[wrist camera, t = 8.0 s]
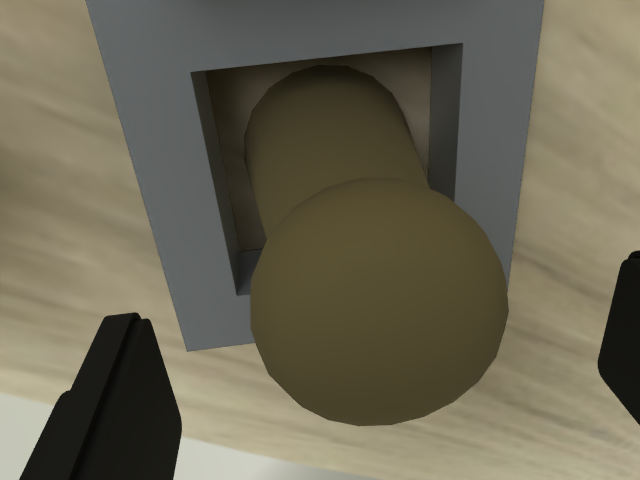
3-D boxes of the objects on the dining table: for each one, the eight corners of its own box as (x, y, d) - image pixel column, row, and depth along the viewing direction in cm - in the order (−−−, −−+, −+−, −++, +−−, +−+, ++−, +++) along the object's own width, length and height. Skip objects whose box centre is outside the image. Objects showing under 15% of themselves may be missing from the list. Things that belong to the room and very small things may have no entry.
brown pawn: (408, 213, 20) (539, 449, 11) (257, 232, 20) (252, 491, 10) (408, 54, 17) (590, 186, 8) (229, 75, 17) (185, 238, 7)
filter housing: (-32, -573, 10) (-292, -1034, 5) (551, -605, 11) (783, -1052, 6) (196, 302, 21) (177, 404, 16) (476, 267, 22) (535, 356, 17)
